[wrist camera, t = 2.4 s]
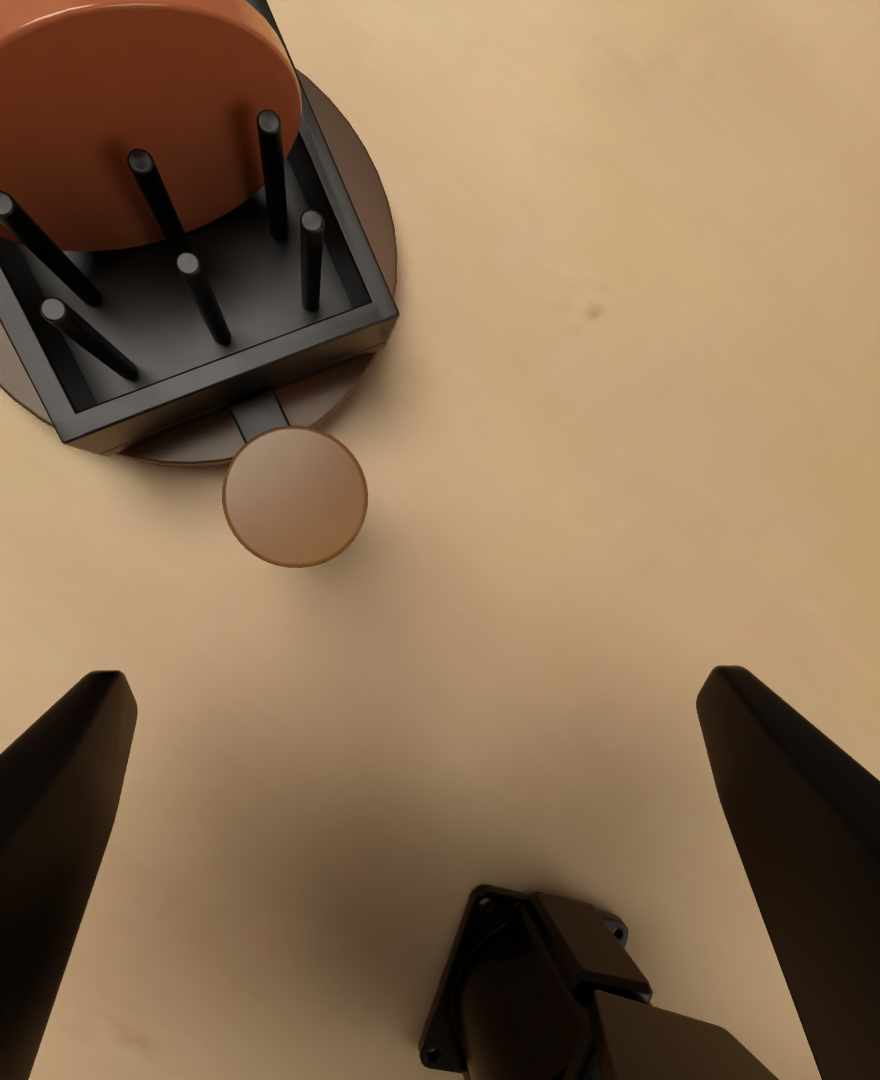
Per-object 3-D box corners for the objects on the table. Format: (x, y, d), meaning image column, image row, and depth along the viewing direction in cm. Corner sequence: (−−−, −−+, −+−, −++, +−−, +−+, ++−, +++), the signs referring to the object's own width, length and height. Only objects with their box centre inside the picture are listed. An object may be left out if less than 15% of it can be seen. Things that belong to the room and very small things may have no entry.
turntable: (314, 525, 20) (314, 525, 19) (-118, 371, 17) (-157, 358, 16) (444, 171, 21) (454, 145, 19) (45, -35, 18) (21, -84, 16)
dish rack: (442, 480, 19) (589, 442, 9) (177, 598, 18) (10, 706, 8) (244, 24, 17) (163, -639, 7) (-70, 109, 16) (-715, -590, 6)
